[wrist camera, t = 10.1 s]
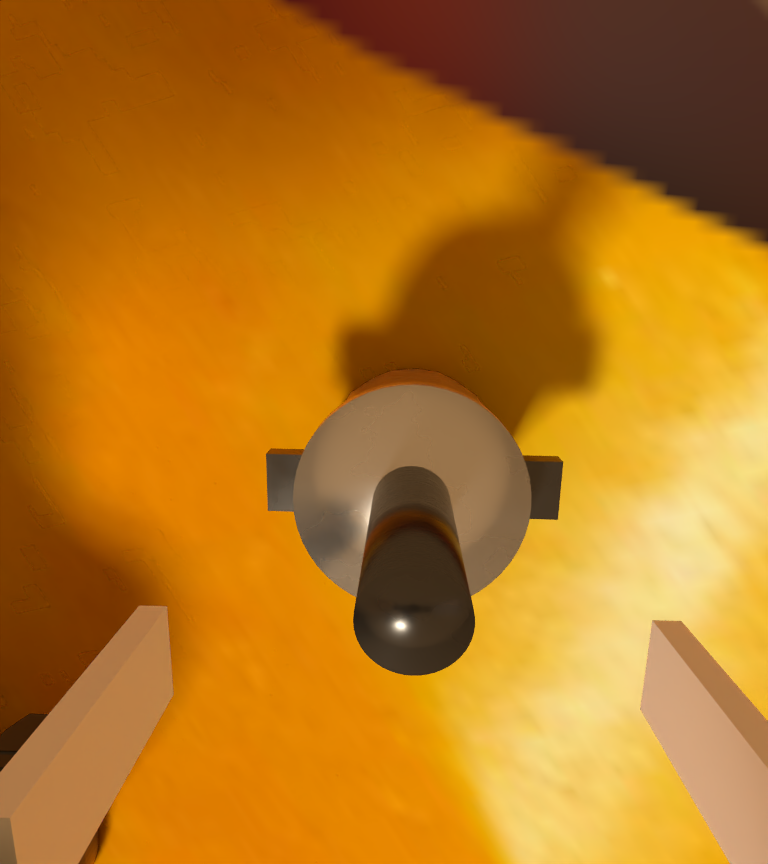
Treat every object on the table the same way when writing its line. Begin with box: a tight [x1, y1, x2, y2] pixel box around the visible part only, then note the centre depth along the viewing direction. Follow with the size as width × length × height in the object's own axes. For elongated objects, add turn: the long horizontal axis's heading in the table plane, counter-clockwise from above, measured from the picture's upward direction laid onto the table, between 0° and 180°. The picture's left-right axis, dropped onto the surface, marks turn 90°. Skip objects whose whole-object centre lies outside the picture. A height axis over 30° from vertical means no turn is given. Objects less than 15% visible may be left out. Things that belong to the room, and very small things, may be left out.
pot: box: [266, 369, 563, 520], centre depth 32 cm, size 15×10×8 cm
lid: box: [293, 381, 531, 675], centre depth 23 cm, size 11×11×11 cm
